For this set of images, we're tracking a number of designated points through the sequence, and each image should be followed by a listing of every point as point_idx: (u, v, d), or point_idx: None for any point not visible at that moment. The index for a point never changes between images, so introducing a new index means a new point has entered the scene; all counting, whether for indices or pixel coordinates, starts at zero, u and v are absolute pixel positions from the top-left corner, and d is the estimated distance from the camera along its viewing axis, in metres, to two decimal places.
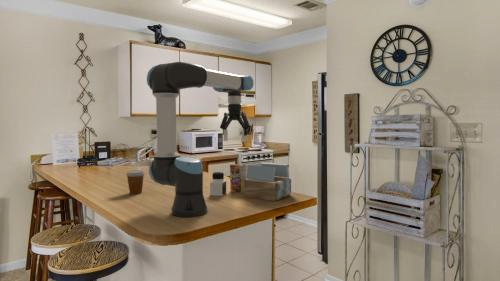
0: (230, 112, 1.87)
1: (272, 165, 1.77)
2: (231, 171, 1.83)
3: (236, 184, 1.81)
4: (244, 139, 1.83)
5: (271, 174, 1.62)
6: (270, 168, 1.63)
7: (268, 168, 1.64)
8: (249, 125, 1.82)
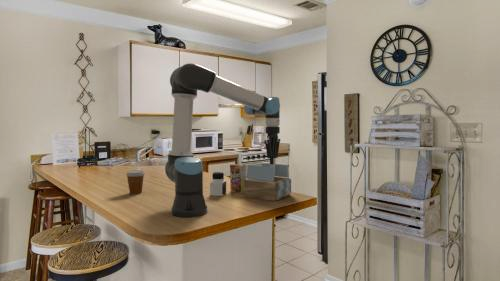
0: None
1: None
2: (231, 171, 1.83)
3: (236, 184, 1.81)
4: None
5: (271, 174, 1.62)
6: (270, 168, 1.63)
7: (268, 168, 1.64)
8: (270, 154, 1.72)
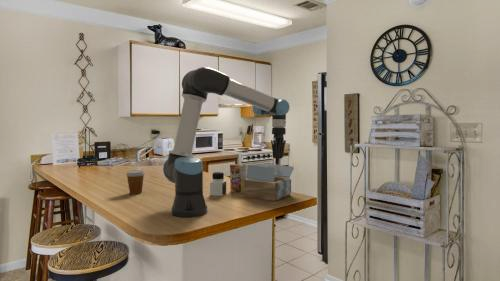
0: None
1: None
2: (231, 171, 1.83)
3: (236, 184, 1.81)
4: (276, 168, 1.80)
5: (271, 174, 1.62)
6: (270, 168, 1.63)
7: (268, 168, 1.64)
8: (276, 154, 1.77)
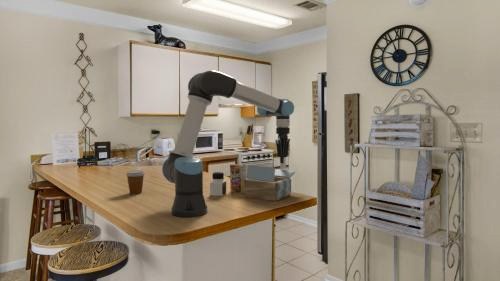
0: None
1: (280, 170, 1.84)
2: (231, 171, 1.83)
3: (236, 184, 1.81)
4: (281, 166, 1.85)
5: (271, 174, 1.62)
6: (270, 168, 1.63)
7: (268, 168, 1.64)
8: (281, 154, 1.81)
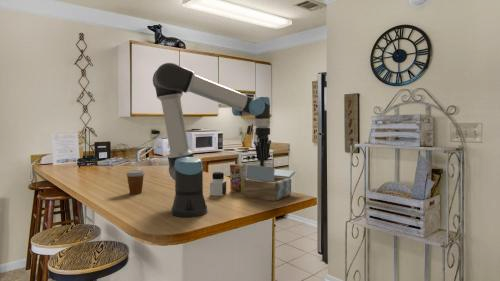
0: None
1: (280, 170, 1.84)
2: (231, 171, 1.83)
3: (236, 184, 1.81)
4: None
5: (271, 174, 1.62)
6: (269, 168, 1.63)
7: (267, 168, 1.63)
8: (260, 157, 1.64)
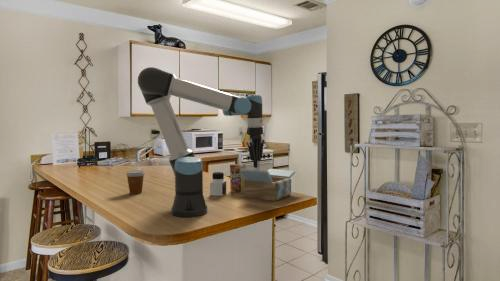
0: None
1: (280, 170, 1.84)
2: (231, 171, 1.83)
3: (236, 184, 1.81)
4: None
5: (267, 178, 1.59)
6: (263, 173, 1.58)
7: (261, 173, 1.59)
8: (254, 157, 1.60)
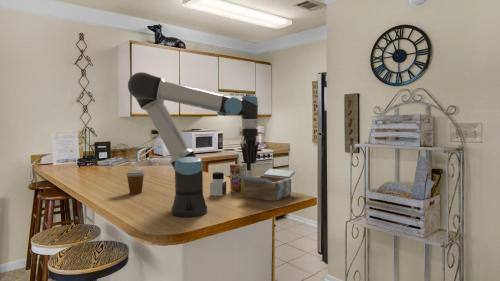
0: None
1: (280, 170, 1.84)
2: (231, 171, 1.83)
3: (236, 184, 1.81)
4: (248, 174, 1.59)
5: (266, 182, 1.59)
6: (261, 180, 1.57)
7: (259, 180, 1.58)
8: (247, 159, 1.55)
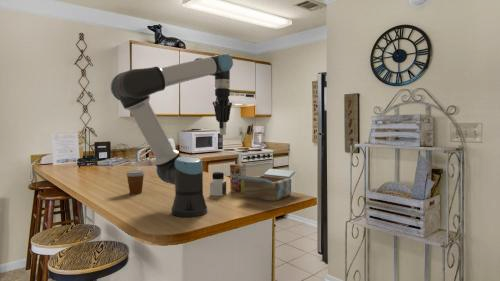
0: None
1: (280, 170, 1.84)
2: (231, 171, 1.83)
3: (236, 184, 1.81)
4: (221, 132, 1.67)
5: (266, 182, 1.59)
6: (261, 180, 1.57)
7: (259, 180, 1.58)
8: (219, 117, 1.63)
